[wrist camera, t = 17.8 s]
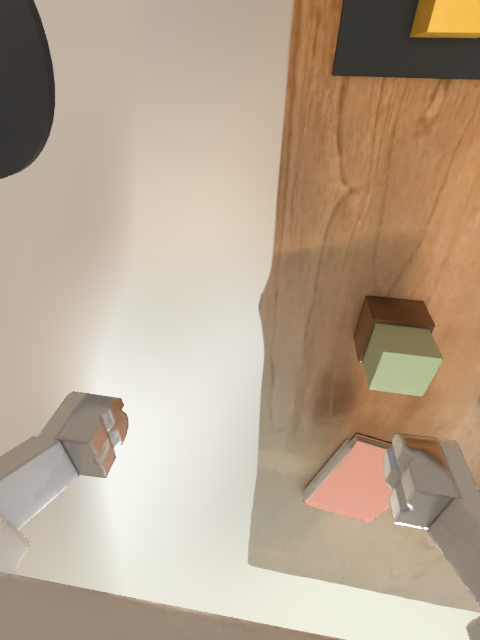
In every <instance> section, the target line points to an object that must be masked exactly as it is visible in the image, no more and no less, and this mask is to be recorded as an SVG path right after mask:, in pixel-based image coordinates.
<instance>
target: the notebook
mask: <svg viewBox="0 0 480 640" xmlns="http://www.w3.org/2000/svg"><path fill="white" fill-rule="evenodd" d="M346 441H350V442H346ZM346 441H345V442H344V444H343V445H342V446H341V447H342V448H341V447H340V448H339V449H338V451H337V452H336V453H335V454H334V455H333V457H332V458H331V459H330V460H329V461H328V463H329V464H328V463H327V464H326V465H325V466H324V467H323V468H322V470H321V471H322V472H321V471H320V472H319V473H318V474H317V476H316V477H318V478H316V477H315V478H314V479H313V480H312V481H311V483H310V484H309V485H308V486H307V487H306V489H305V490H304V491H303V492H302V498H303V502H302V503H303V504H306V505H309V506H313V507H316V508H320V509H323V510H327V511H330V512H334V513H337V514H341V515H344V516H347V517H351V518H354V519H358V520H361V521H365V522H368V523H369V522H370V521H371V520H373V519H374V518H375V517H377V516H378V515H379V514H380V513H382V512H383V511H384V510H386V509H387V508H388V507H390V502H389V497H390V495H391V493H392V491H393V490H392V489H391V488H390V487H389V486H388V485H387V483H386V482H385V477H384V471H383V461H384V455H385V453H386V450H387V449H388V448H390V447H392V446H393V444H390V443H387V442H383V441H380V440H376V439H373V438H370V437H366V436H363V435H360V434H356V435H355V436H354V437H353V439H352V440H346ZM346 443H348V444H346ZM344 445H345V446H344ZM343 447H344V448H343ZM341 449H342V450H341ZM336 454H337V455H336ZM334 456H335V457H334ZM336 456H337V457H336ZM333 458H334V459H333ZM333 460H334V461H333ZM330 461H331V462H330ZM330 463H331V464H330ZM327 466H328V468H327ZM324 468H325V469H324ZM326 468H327V469H326ZM323 471H324V472H323ZM320 474H321V475H320ZM319 476H320V477H319ZM316 479H317V480H316ZM315 480H316V481H315ZM312 483H313V484H312ZM310 486H311V487H310ZM308 487H309V488H308ZM306 490H307V491H306ZM305 492H306V493H305ZM304 493H305V494H304ZM303 495H304V496H303Z"/></svg>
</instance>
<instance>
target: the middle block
mask: <svg viewBox="0 0 480 640" xmlns="http://www.w3.org/2000/svg"><path fill="white" fill-rule="evenodd" d="M442 360H443V357H442V355H441V353H440V351H439V349H438V347H437V345H436V342H435V340H434V338H433V336H432V334H431V332H430V329H424V328H415V327H406V326H397V325H388V324H379V323H376V324H375V327H374V330H373V333H372V335H371V338H370V341H369V344H368V347H367V350H366V353H365V356H364V359H363V362H364V367H365V372H366V377H367V383H368V388H369V389H371V390H378V391H386V392H393V393H401V394H408V395H416V396H423V395H424V393H425V391H426V389H427V387H428V386H429V384H430V382H431V380H432V378H433V377H434V375H435V373H436V371H437V369H438V367H439V366H440V364H441V362H442Z"/></svg>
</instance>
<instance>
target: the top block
mask: <svg viewBox="0 0 480 640" xmlns="http://www.w3.org/2000/svg"><path fill="white" fill-rule="evenodd" d="M410 37H423V38H479V37H480V0H419V2H418V6H417V10H416V14H415V18H414V22H413V26H412V30H411V34H410Z"/></svg>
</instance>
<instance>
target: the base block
mask: <svg viewBox="0 0 480 640" xmlns="http://www.w3.org/2000/svg"><path fill="white" fill-rule="evenodd" d="M376 323H379V324H388V325H397V326H406V327H415V328H424V329H430V332H431V334H432V332H433V330H434V328H435V324H434V322H433V320H432V318H431V316H430V314H429V312H428V310H427V308H426V306H425V304H424V302H421V301H411V300H401V299H392V298H382V297H372V296H366V299H365V302H364V306H363V309H362V312H361V315H360V319H359V322H358V325H357V329H356V332H355V335H354V340H355V346H356V352H357V358H358V362H363V359H364V356H365V353H366V350H367V347H368V344H369V341H370V338H371V335H372V333H373V330H374V327H375V324H376Z"/></svg>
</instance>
